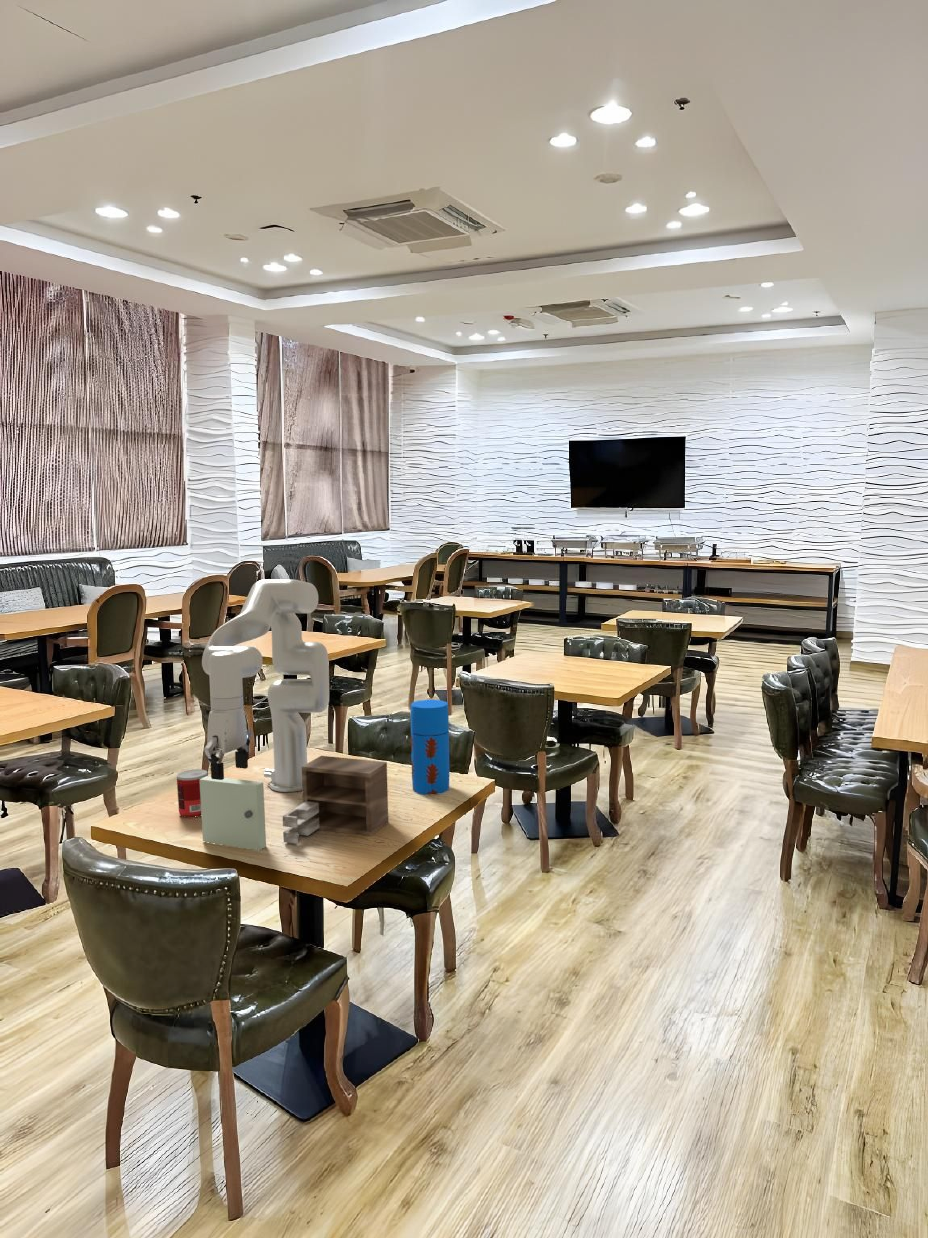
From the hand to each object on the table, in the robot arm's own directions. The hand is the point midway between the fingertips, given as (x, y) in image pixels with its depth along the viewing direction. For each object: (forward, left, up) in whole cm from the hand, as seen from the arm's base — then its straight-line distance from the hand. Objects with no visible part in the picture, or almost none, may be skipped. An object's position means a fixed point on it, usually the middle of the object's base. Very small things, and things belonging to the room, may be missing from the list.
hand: (230, 773), depth 208 cm
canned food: (-23, +15, -18) cm, 33 cm away
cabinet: (+20, +15, -18) cm, 31 cm away
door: (0, 0, -18) cm, 18 cm away
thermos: (+30, +53, -18) cm, 64 cm away
